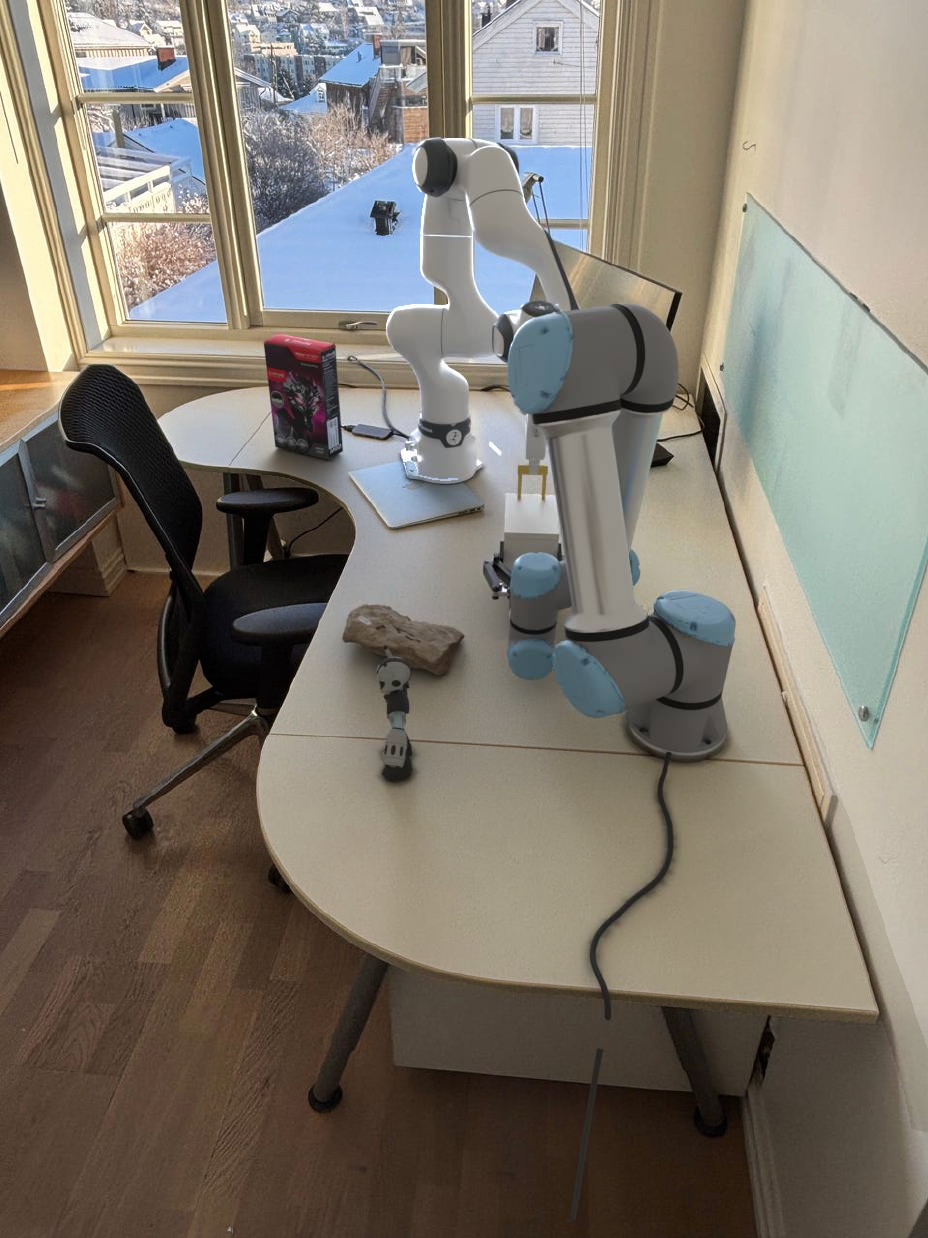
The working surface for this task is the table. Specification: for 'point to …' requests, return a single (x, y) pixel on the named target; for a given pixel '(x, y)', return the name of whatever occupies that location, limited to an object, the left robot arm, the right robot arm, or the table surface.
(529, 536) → the white lid with handle
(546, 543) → the chest
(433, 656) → the stone
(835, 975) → the table surface
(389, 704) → the robot
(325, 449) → the graphics card box
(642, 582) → the table surface
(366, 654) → the table surface
